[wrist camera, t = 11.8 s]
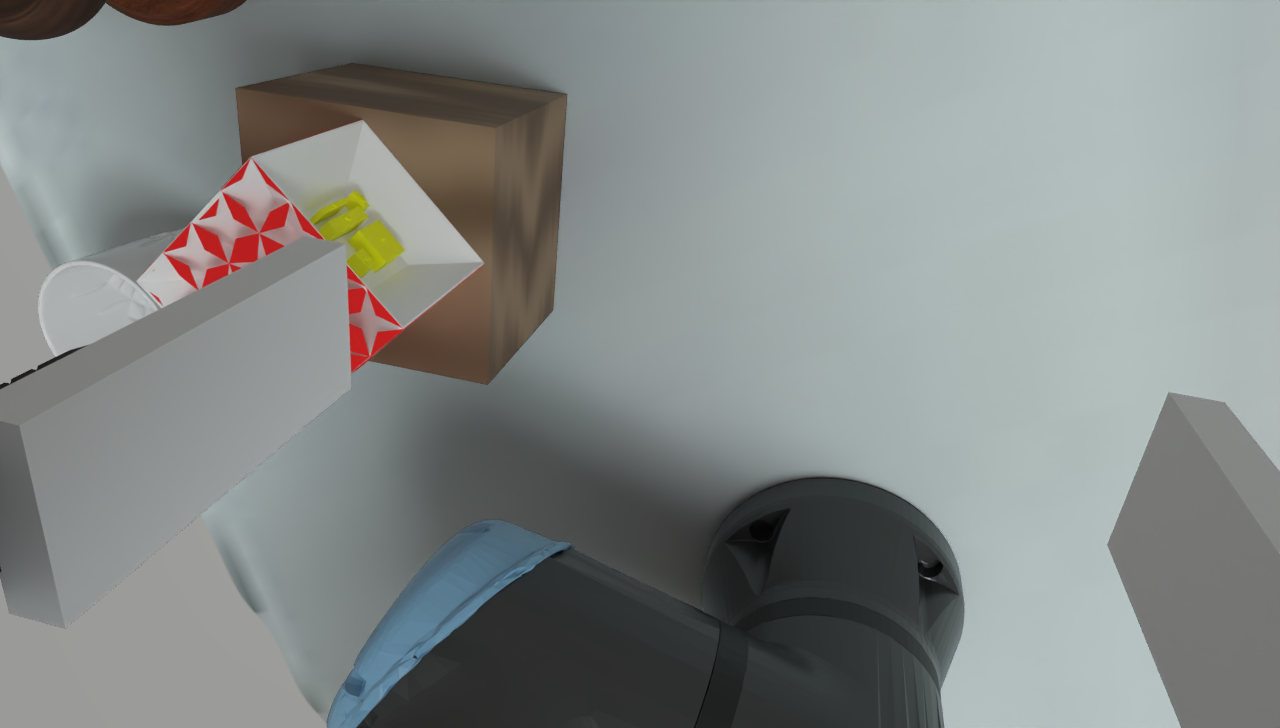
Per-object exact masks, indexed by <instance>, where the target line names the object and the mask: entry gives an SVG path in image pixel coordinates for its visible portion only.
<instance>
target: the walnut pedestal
mask: <svg viewBox="0 0 1280 728" xmlns="http://www.w3.org/2000/svg"><path fill="white" fill-rule="evenodd" d="M236 99H237V110H238V121H239V132H240V143H241V154H242V165H243V164H244V163H245V162H246V161H247V160H248V159H249V158H250V157H251V156H253V155H256V154H259V153H262V152H265V151H268V150H271V149H274V148H277V147H280V146H281V147H282V146H284V145H286V144H289V143H292V142H295V141H298V140H301V139H304V138H307V137H310V136H311V137H312V136H313V135H316V134H319V133H323V132H326V131H329V130H332V129H335V128H339V127H341V126H344V125H347V124H350V123H353V122H356V121H359V120H364V121H365V123H366V124H367V125H368V126H369V127H370V128H371V130H372V131H373V132H374V133H375V134H376V136H377V137H378V138H379V139H380V140H381V141H382V143H383V144H384V145H385V146H386V147H387V149H388V150H389V151H390V152H391V153H392V154H393V156H394V157H395V158H396V159H397V160H398V161H399V163H400V164H401V165H402V166H403V167H404V169H405V170H406V171H407V172H408V173H409V174H410V176H411V177H412V178H413V179H414V180H415V182H416V183H417V184H418V185H419V186H420V187H421V189H422V190H423V191H424V192H425V193H426V195H427V196H428V197H429V198H430V199H431V200H432V202H433V203H434V204H435V205H436V206H437V207H438V209H439V210H440V211H441V212H442V213H443V215H444V216H445V217H446V218H447V219H448V220H449V222H450V223H451V224H452V225H453V226H454V228H455V229H456V230H457V231H458V232H459V233H460V235H461V236H462V237H463V238H464V239H465V241H466V242H467V243H468V244H469V245H470V246H471V248H472V249H473V250H474V251H475V252H476V253H477V255H478V256H479V257H480V258H481V259H482V261H483V262H484V264H483V266H481V267H480V268H479V269H478V270H477V271H475V272H474V273H473V274H472V275H471V276H469V277H468V278H467V279H466V280H465V281H463V282H462V283H461V284H460V285H459V286H457V287H456V288H454V289H453V290H452V291H451V292H450V293H448V294H447V295H446V296H445V297H444V298H442V299H441V300H440V301H439V302H438V303H436V304H435V305H434V306H433V307H432V308H430V309H429V310H428V311H427V312H426V313H424V314H423V315H422V316H421V317H420V318H418V319H417V320H416V321H415V322H414V323H412V324H411V325H410V326H409V327H408V328H406V329H405V330H404V331H403V332H402V333H400V334H399V335H398V336H397V337H396V338H394V339H393V340H392V341H391V342H390V343H388V344H387V345H386V346H385V347H384V348H382V349H381V350H380V351H379V352H378V353H376V354H375V355H374V356H373V357H372V358H371V359H370V360H368V361H373V362H378V363H382V364H387V365H392V366H397V367H402V368H407V369H412V370H417V371H422V372H427V373H432V374H437V375H442V376H447V377H452V378H457V379H462V380H467V381H471V382H476V383H481V384H486V385H488V384H489V383H490V381H491V380H492V379H493V378H494V377H495V376H496V375H497V374H498V372H499V371H500V370H501V369H502V368H503V367H504V366H505V364H506V363H507V362H508V361H509V360H510V359H511V358H512V357H513V355H514V354H515V353H516V352H517V351H518V350H519V349H520V347H521V346H522V345H523V344H524V343H525V342H526V341H527V339H528V338H529V337H530V336H531V335H532V334H533V333H534V332H535V330H536V329H537V328H538V327H539V326H540V325H541V324H542V322H543V321H544V320H545V319H546V318H547V317H548V316H549V314H550V313H551V312H552V311H553V305H554V290H555V274H556V259H557V243H558V228H559V213H560V197H561V182H562V166H563V151H564V135H565V120H566V105H567V94H560V93H554V92H547V91H540V90H533V89H526V88H519V87H512V86H505V85H499V84H492V83H485V82H478V81H471V80H464V79H457V78H451V77H444V76H437V75H430V74H423V73H416V72H409V71H402V70H396V69H389V68H382V67H375V66H368V65H361V64H354V63H350V64H346V65H341V66H336V67H332V68H327V69H322V70H318V71H313V72H308V73H304V74H299V75H294V76H289V77H285V78H280V79H275V80H271V81H266V82H261V83H257V84H252V85H247V86H243V87H238V88H236Z"/></svg>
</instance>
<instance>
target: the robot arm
mask: <svg viewBox="0 0 1280 728" xmlns="http://www.w3.org/2000/svg"><path fill="white" fill-rule="evenodd" d="M351 388H352V381H351V357H350V333H349V309H348V285H347V261H346V244H345V243H339V242H333V241H328V240H322V239H317V238H311V237H306V236H304V237H302V238H300V239H298V240H296V241H294V242H292V243H290V244H288V245H286V246H284V247H282V248H280V249H278V250H276V251H274V252H272V253H270V254H268V255H266V256H264V257H263V258H261V259H259V260H257V261H255V262H253V263H251V264H249V265H247V266H245V267H243V268H241V269H239V270H237V271H235V272H233V273H231V274H229V275H227V276H225V277H223V278H221V279H219V280H217V281H215V282H213V283H211V284H209V285H207V286H205V287H203V288H201V289H199V290H197V291H195V292H193V293H191V294H189V295H187V296H185V297H183V298H181V299H179V300H177V301H175V302H173V303H171V304H169V305H167V306H165V307H163V308H161V309H159V310H157V311H155V312H153V313H151V314H149V315H147V316H145V317H143V318H141V319H139V320H137V321H135V322H133V323H131V324H129V325H127V326H125V327H123V328H121V329H119V330H117V331H115V332H113V333H111V334H109V335H107V336H105V337H103V338H101V339H100V340H98V341H96V342H94V343H92V344H90V345H86V346H82V347H79V348H75V349H72V350H69V351H67V352H65V353H63V354H61V355H59V356H57V357H55V358H53V359H51V360H49V361H47V362H45V363H43V364H41V365H39V366H38V368H37V370H33V369H31V370H29V371H27V372H25V373H23V374H21V375H19V376H17V377H15V378H13V379H11V383H10V384H9V383H3V384H1V385H0V579H1V583H2V586H3V590H4V594H5V598H6V602H7V606H8V610H9V613H10V614H13V615H17V616H20V617H24V618H28V619H32V620H35V621H39V622H42V623H47V624H50V625H54V626H58V627H61V628H65V629H66V628H67V627H68V626H69V625H70V624H72V623H73V622H74V621H75V620H76V619H78V618H79V617H80V616H81V615H82V614H83V613H85V612H86V611H87V610H88V609H89V608H91V607H92V606H93V605H94V604H95V603H97V602H98V601H99V600H100V599H101V598H102V597H103V596H105V595H106V594H107V593H108V592H110V591H111V590H112V589H113V588H114V587H116V586H117V585H118V584H119V583H120V582H121V581H123V580H124V579H125V578H126V577H127V576H128V575H130V574H131V573H132V572H133V571H134V570H136V569H137V568H138V567H139V566H140V565H142V563H144V562H145V561H146V560H148V559H149V558H150V557H151V556H152V555H154V554H155V553H156V552H157V551H158V550H159V549H161V548H162V547H163V546H164V545H165V544H167V543H168V542H169V541H170V540H171V539H173V538H174V537H175V536H176V535H177V534H178V533H179V532H181V531H182V530H183V529H184V528H186V527H187V526H188V525H189V524H190V523H192V522H193V521H194V520H195V519H196V518H197V517H199V516H200V515H201V514H202V513H203V512H205V511H206V510H207V509H208V508H209V507H211V506H212V505H213V504H214V503H215V502H216V501H218V500H219V499H220V498H221V497H222V496H224V495H225V494H226V493H227V492H228V491H230V490H231V489H232V488H233V487H234V486H235V485H237V484H238V483H239V482H240V481H241V480H243V479H244V478H245V477H246V476H247V475H249V474H250V473H251V472H252V471H253V470H254V469H256V468H257V467H258V466H259V465H260V464H262V463H263V462H264V461H265V460H266V459H268V458H269V457H270V456H271V455H272V454H273V453H275V452H276V451H277V450H278V449H279V448H281V447H282V446H283V445H284V444H285V443H287V442H288V441H289V440H290V439H291V438H292V437H294V436H295V435H296V434H297V433H298V432H300V431H301V430H302V429H303V428H304V427H306V426H307V425H308V424H309V423H310V422H311V421H313V420H314V419H315V418H316V417H317V416H319V415H320V414H321V413H322V412H323V411H325V410H326V409H327V408H328V407H329V406H330V405H332V404H333V403H334V402H335V401H336V400H338V399H339V398H340V397H341V396H342V395H344V394H345V393H346V392H347V391H348V390H349V389H351ZM1107 545H1108V548H1109V550H1110V553H1111V555H1112V558H1113V560H1114V563H1115V565H1116V567H1117V570H1118V572H1119V575H1120V577H1121V580H1122V582H1123V585H1124V587H1125V590H1126V592H1127V595H1128V597H1129V600H1130V602H1131V605H1132V607H1133V609H1134V612H1135V614H1136V617H1137V619H1138V622H1139V624H1140V627H1141V629H1142V632H1143V634H1144V637H1145V639H1146V642H1147V644H1148V647H1149V649H1150V651H1151V654H1152V656H1153V659H1154V661H1155V664H1156V666H1157V669H1158V671H1159V674H1160V676H1161V679H1162V681H1163V684H1164V686H1165V689H1166V691H1167V693H1168V696H1169V698H1170V701H1171V703H1172V706H1173V708H1174V711H1175V713H1176V716H1177V718H1178V721H1179V723H1180V726H1181V728H1280V471H1279V470H1278V469H1277V468H1276V466H1275V465H1274V464H1273V463H1272V461H1271V460H1270V459H1269V457H1268V456H1267V455H1266V454H1265V452H1264V451H1263V450H1262V449H1261V447H1260V446H1259V445H1258V444H1257V442H1256V441H1255V440H1254V439H1253V437H1252V436H1251V435H1250V434H1249V432H1248V431H1247V430H1246V429H1245V427H1244V426H1243V425H1242V423H1241V422H1240V421H1239V420H1238V418H1237V417H1236V416H1235V415H1234V413H1233V412H1232V411H1231V410H1230V408H1229V407H1228V406H1227V405H1226V403H1225V402H1220V401H1214V400H1209V399H1203V398H1197V397H1192V396H1186V395H1181V394H1175V393H1170V392H1169V393H1168V395H1167V398H1166V400H1165V403H1164V405H1163V408H1162V410H1161V412H1160V415H1159V417H1158V420H1157V422H1156V425H1155V427H1154V430H1153V432H1152V435H1151V437H1150V440H1149V442H1148V445H1147V447H1146V450H1145V452H1144V455H1143V457H1142V460H1141V462H1140V465H1139V467H1138V470H1137V472H1136V475H1135V477H1134V480H1133V482H1132V485H1131V487H1130V489H1129V492H1128V494H1127V497H1126V499H1125V502H1124V504H1123V507H1122V509H1121V512H1120V514H1119V517H1118V519H1117V522H1116V524H1115V527H1114V529H1113V532H1112V534H1111V537H1110V539H1109V542H1108V544H1107ZM701 598H702V608H703V611H701V610H699V609H697V608H695V607H692V606H690V605H688V604H686V603H684V602H682V601H680V600H678V599H676V598H673V597H671V596H669V595H667V594H665V593H663V592H661V591H659V590H657V589H654V588H652V587H650V586H648V585H646V584H644V583H642V582H640V581H638V580H635V579H633V578H631V577H629V576H627V575H625V574H623V573H621V572H619V571H616V570H614V569H612V568H610V567H608V566H606V565H604V564H602V563H600V562H598V561H596V560H594V559H592V558H590V557H588V556H586V555H584V554H582V553H580V552H578V551H576V550H575V547H574V546H573V545H571V544H569V543H568V542H565V541H561V542H556V541H553V540H551V539H548V538H546V537H543V536H541V535H538V534H536V533H533V532H531V531H528V530H526V529H523V528H521V527H518V526H516V525H514V524H512V523H509V522H506V521H502V520H484V521H480V522H477V523H474V524H472V525H469V526H468V527H466V528H464V529H463V530H461V531H460V532H458V533H457V534H456V535H455V536H453V537H452V538H450V539H449V540H448V541H447V542H446V543H445V544H444V545H443V546H442V547H441V548H440V549H439V550H438V551H437V552H436V553H435V554H434V555H433V556H432V557H431V558H430V559H429V560H428V561H427V562H426V564H425V565H424V566H423V567H422V568H421V569H420V570H419V572H418V573H417V574H416V575H415V576H414V578H413V579H412V580H411V581H410V582H409V584H408V585H407V586H406V588H405V589H404V590H403V591H402V593H401V594H400V595H399V597H398V598H397V599H396V601H395V602H394V603H393V605H392V606H391V607H390V609H389V610H388V611H387V613H386V614H385V616H384V617H383V619H382V620H381V621H380V623H379V624H378V626H377V627H376V629H375V630H374V632H373V633H372V635H371V636H370V638H369V639H368V641H367V642H366V644H365V645H364V647H363V649H362V650H361V652H360V654H359V655H358V657H357V659H356V661H355V664H354V666H355V668H354V669H353V670H352V671H351V673H350V674H349V676H348V677H347V679H346V680H345V682H344V684H343V685H342V686H341V688H340V689H339V691H338V693H337V695H336V697H335V699H334V701H333V703H332V706H331V709H330V712H329V715H328V719H327V728H944V721H943V712H942V705H941V694H940V690H941V687H942V685H943V682H944V680H945V677H946V675H947V672H948V669H949V667H950V664H951V662H952V659H953V657H954V654H955V652H956V649H957V646H958V644H959V641H960V638H961V634H962V630H963V623H964V597H963V590H962V583H961V576H960V572H959V568H958V564H957V561H956V559H955V556H954V554H953V552H952V550H951V548H950V546H949V544H948V543H947V541H946V539H945V538H944V537H943V535H942V534H941V533H940V531H939V530H938V529H937V528H936V527H935V525H934V524H933V523H932V522H931V521H930V520H929V519H928V518H927V517H926V516H924V515H923V514H922V513H921V512H920V511H918V510H917V509H916V508H914V507H913V506H911V505H910V504H908V503H907V502H905V501H904V500H902V499H900V498H898V497H896V496H894V495H892V494H890V493H888V492H886V491H883V490H881V489H878V488H876V487H872V486H869V485H866V484H862V483H858V482H853V481H847V480H839V479H806V480H799V481H793V482H788V483H784V484H781V485H777V486H775V487H772V488H769V489H767V490H765V491H762V492H760V493H758V494H756V495H755V496H753V497H751V498H750V499H748V500H747V501H745V502H744V503H742V504H741V505H740V506H738V507H737V508H736V509H735V510H734V511H733V512H732V513H731V514H730V515H729V516H728V517H727V518H726V519H725V521H724V522H723V523H722V525H721V526H720V528H719V529H718V531H717V533H716V535H715V536H714V539H713V541H712V543H711V546H710V549H709V553H708V556H707V560H706V564H705V568H704V572H703V577H702V590H701Z"/></svg>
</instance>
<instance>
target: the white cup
mask: <svg viewBox="0 0 1280 728" xmlns="http://www.w3.org/2000/svg"><path fill="white" fill-rule="evenodd" d="M184 229H185V228H184ZM184 229H180V230H176V231H171V232H163V233H161V234H156V235H153V236H149V237H146V238H143V239H140V240H136V241H132V242H128V243H125V244H123V245H120V246H117V247H114V248H111V249H108V250H105V251H102V252H98V253H95V254H92V255H89V256H86V257H83V258H80V259H76V260H73V261H70V262H67V263H64V264H62V265H60V266H58V267H56V268H55V269H54V270H52V271H51V272H50V273H49V274H48V275H47V277H46V278H45V280H44V282H43V283H42V286H41V288H40V292H39V296H38V317H39V322H40V326H41V329H42V332H43V335H44V338H45V340H46V342H47V344H48V346H49V348H50V350H51V351H52V353H53V354H54V356H55V357H57V356H59V355H61V354H63V353H65V352H67V351H69V350H72V349H75V348H79V347H82V346H86V345H90V344H92V343H94V342H96V341H98V340H100V339H101V338H103V337H105V336H107V335H109V334H111V333H113V332H115V331H117V330H119V329H121V328H123V327H125V326H127V325H129V324H131V323H133V322H135V321H137V320H139V319H141V318H143V317H145V316H147V315H149V314H151V313H153V312H155V311H157V310H159V309H161V307H160V306H159V305H158V304H157V303H156V302H155V301H154V300H153V299H152V298H151V297H150V296H149V295H148V294H147V293H146V291H145V290H144V289H143V288H142V287H141V286H140V285H139V284H138V283H137V282H136V281H137V280H138V279H139V277H140V276H141V275H142V273H143V272H144V271H145V270H146V269H147V268H148V267H149V265H150V264H151V263H152V262H153V261H154V260H155V259H156V258H157V257H158V256H159V255H160V254H161V253H163V251H164V250H165V249H166V248H167V247H168V246H169V245H170V244H171V243H172V242H173V241H174V240H175V238H176V237H177V236H178V235H179V234H180V233H181V232H182V231H183V230H184Z"/></svg>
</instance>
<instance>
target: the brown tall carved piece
mask: <svg viewBox="0 0 1280 728" xmlns="http://www.w3.org/2000/svg"><path fill="white" fill-rule="evenodd" d="M245 1H246V0H0V36H2V37H6V38H12V39H19V40H43V39H50V38H55V37H59V36H62V35H65V34H68V33H70V32H72V31H74V30H76V29H78V28H80V27H81V26H83V25H84V24H86V23H87V22H88V21H89V20H91V19H92V18H93V17H94V16H95V15H96V14H97V13H98V11H99V10H100V9H101V8H102V6H103V5H104V4H105V3H107V4H108V5H109V6H111V7H112V8H114V9H116V10H117V11H119V12H121V13H123V14H125V15H127V16H129V17H131V18H133V19H136V20H139V21H142V22H145V23H149V24H155V25H165V26H170V25H180V24H185V23H189V22H193V21H197V20H202V19H206V18H210V17H214V16H218V15H222V14H225V13H228V12H230V11H232V10H234V9H236V8H237V7H239V6H240V5H242V4H243V3H244V2H245Z"/></svg>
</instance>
